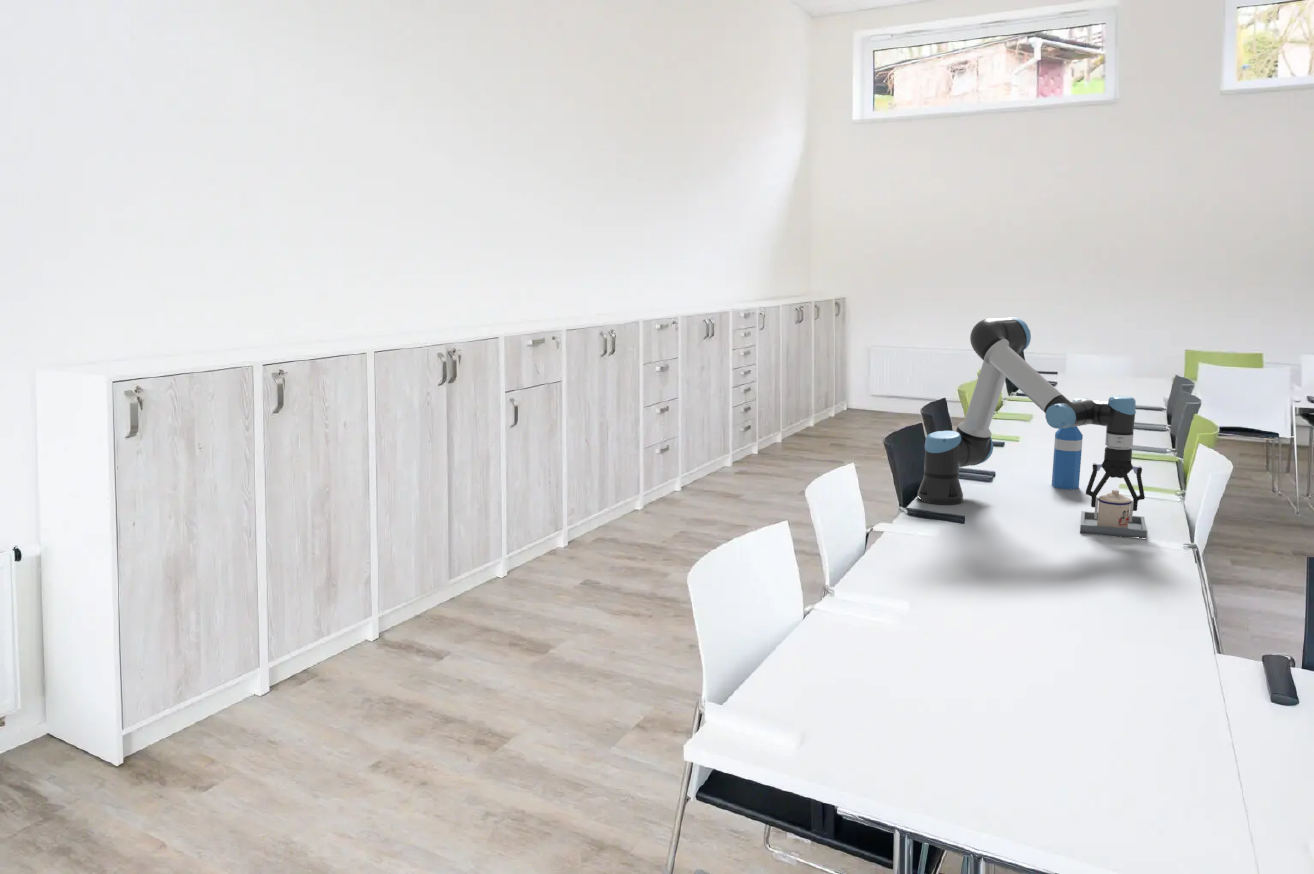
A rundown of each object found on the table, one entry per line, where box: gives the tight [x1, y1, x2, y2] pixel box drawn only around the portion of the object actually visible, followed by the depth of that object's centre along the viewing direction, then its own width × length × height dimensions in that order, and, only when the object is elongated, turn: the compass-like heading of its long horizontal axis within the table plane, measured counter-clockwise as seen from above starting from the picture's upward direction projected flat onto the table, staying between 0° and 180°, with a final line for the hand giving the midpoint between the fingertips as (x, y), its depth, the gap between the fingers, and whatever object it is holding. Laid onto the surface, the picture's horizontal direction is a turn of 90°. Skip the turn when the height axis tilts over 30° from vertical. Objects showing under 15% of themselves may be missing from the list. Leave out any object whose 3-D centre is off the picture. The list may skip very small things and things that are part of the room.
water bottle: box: [1051, 426, 1084, 490], centre depth 356 cm, size 9×9×25 cm
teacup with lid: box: [1097, 489, 1131, 528], centre depth 300 cm, size 12×9×12 cm
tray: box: [1079, 510, 1148, 539], centre depth 301 cm, size 18×18×3 cm
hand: (1112, 519), depth 301 cm, fingers closed on teacup with lid, 9 cm apart
